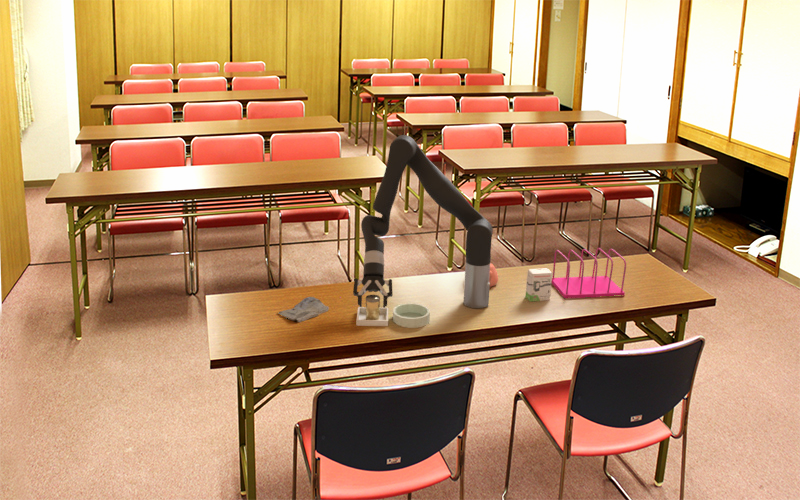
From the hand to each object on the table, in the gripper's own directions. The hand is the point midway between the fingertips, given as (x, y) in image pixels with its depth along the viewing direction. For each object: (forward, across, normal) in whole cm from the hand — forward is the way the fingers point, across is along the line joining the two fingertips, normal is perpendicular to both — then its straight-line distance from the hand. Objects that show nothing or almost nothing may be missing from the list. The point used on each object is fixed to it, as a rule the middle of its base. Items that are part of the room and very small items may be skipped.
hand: (372, 306), depth 257 cm
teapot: (-23, +44, +31) cm, 59 cm away
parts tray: (+4, 0, +4) cm, 6 cm away
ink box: (-12, +64, +20) cm, 68 cm away
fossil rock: (-1, -26, +10) cm, 28 cm away
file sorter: (-20, +86, +27) cm, 92 cm away
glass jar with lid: (+3, 0, +4) cm, 5 cm away
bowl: (+4, +14, +4) cm, 15 cm away
